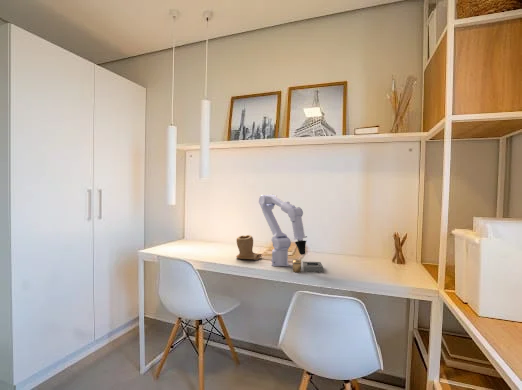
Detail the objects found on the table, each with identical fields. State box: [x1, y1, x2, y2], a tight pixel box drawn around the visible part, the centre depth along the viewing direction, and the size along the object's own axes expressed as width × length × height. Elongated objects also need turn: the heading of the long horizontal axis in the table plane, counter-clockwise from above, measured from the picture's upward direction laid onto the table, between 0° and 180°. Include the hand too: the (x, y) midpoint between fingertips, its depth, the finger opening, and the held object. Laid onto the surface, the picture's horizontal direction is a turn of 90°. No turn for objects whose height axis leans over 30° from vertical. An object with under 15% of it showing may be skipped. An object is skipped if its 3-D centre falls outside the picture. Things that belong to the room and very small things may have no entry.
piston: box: [292, 258, 302, 274], centre depth 152 cm, size 5×5×6 cm
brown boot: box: [236, 234, 263, 261], centre depth 178 cm, size 15×12×15 cm
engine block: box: [302, 261, 324, 273], centre depth 156 cm, size 10×10×3 cm
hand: (302, 254), depth 152 cm, fingers open, 7 cm apart
